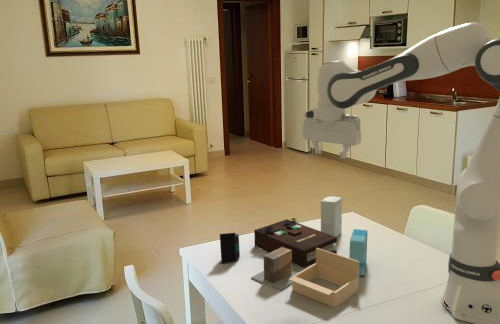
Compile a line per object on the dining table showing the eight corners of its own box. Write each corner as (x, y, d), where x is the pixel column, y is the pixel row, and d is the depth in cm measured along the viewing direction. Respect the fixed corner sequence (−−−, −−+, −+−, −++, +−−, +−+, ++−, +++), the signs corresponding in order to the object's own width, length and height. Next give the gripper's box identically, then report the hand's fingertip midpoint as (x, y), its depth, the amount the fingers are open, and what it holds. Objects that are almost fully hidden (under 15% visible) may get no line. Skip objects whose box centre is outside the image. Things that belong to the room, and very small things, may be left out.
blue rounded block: (363, 277, 146) (364, 242, 143) (348, 276, 147) (349, 241, 145) (366, 261, 157) (367, 228, 154) (352, 260, 158) (353, 227, 156)
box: (291, 273, 149) (291, 250, 147) (273, 283, 143) (273, 259, 141) (282, 269, 152) (282, 246, 150) (264, 279, 145) (263, 255, 144)
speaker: (237, 264, 157) (235, 234, 156) (221, 264, 158) (219, 234, 157) (241, 256, 165) (240, 228, 163) (226, 256, 166) (224, 228, 164)
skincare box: (334, 240, 176) (335, 202, 173) (319, 237, 179) (320, 200, 176) (341, 232, 183) (342, 196, 180) (327, 230, 186) (328, 194, 183)
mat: (304, 276, 148) (304, 275, 147) (280, 290, 139) (280, 289, 139) (275, 265, 156) (275, 264, 156) (251, 278, 147) (251, 277, 147)
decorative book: (306, 251, 149) (247, 227, 172) (306, 273, 151) (248, 246, 174) (344, 236, 161) (285, 214, 184) (344, 256, 163) (285, 232, 185)
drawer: (358, 290, 138) (359, 261, 136) (330, 311, 127) (330, 279, 125) (316, 275, 148) (316, 247, 146) (287, 293, 138) (286, 263, 136)
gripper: (365, 114, 141) (364, 158, 144) (311, 110, 155) (310, 150, 158) (354, 116, 137) (353, 162, 140) (299, 112, 151) (299, 153, 154)
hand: (330, 155), depth 149 cm, fingers open, 8 cm apart
